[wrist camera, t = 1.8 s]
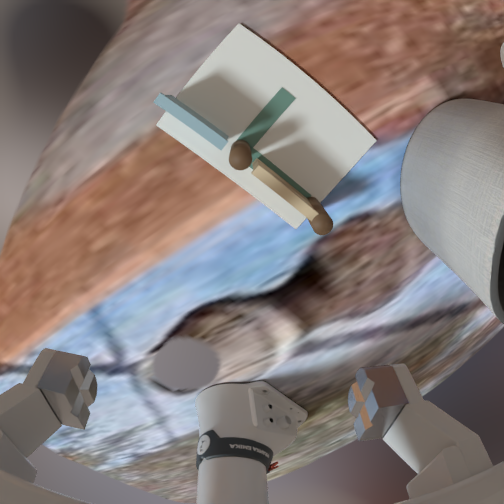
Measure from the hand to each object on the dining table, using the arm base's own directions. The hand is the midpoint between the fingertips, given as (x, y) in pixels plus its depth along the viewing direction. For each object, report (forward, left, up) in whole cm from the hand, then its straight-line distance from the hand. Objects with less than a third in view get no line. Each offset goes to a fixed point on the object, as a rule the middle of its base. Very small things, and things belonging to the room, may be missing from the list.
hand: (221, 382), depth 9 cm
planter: (-24, -20, -31) cm, 44 cm away
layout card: (0, -6, -31) cm, 31 cm away
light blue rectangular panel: (+7, -2, -30) cm, 31 cm away
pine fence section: (-5, -2, -31) cm, 31 cm away
